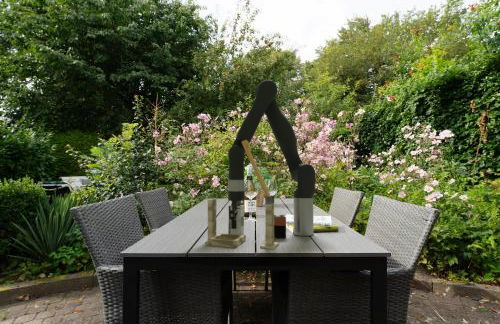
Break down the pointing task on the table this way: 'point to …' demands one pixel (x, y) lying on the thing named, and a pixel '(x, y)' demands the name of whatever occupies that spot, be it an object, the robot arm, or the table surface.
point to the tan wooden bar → (255, 167)
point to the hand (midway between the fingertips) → (236, 227)
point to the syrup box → (238, 222)
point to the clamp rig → (236, 239)
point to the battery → (279, 226)
